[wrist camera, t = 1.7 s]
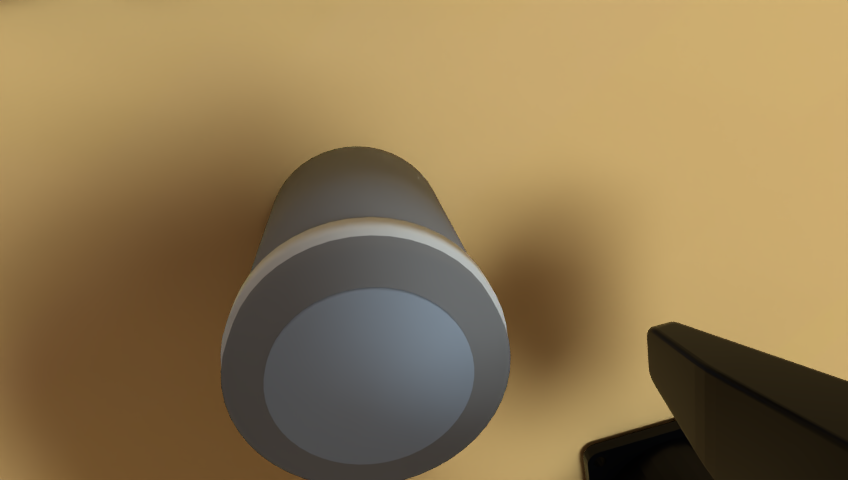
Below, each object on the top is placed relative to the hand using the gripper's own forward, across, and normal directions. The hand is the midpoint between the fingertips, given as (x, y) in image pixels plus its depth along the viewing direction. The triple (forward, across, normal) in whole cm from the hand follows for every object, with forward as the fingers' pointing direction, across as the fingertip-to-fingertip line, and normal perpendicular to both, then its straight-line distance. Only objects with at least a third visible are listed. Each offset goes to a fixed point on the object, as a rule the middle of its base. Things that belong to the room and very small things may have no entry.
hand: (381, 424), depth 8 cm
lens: (+8, 0, 0) cm, 8 cm away
